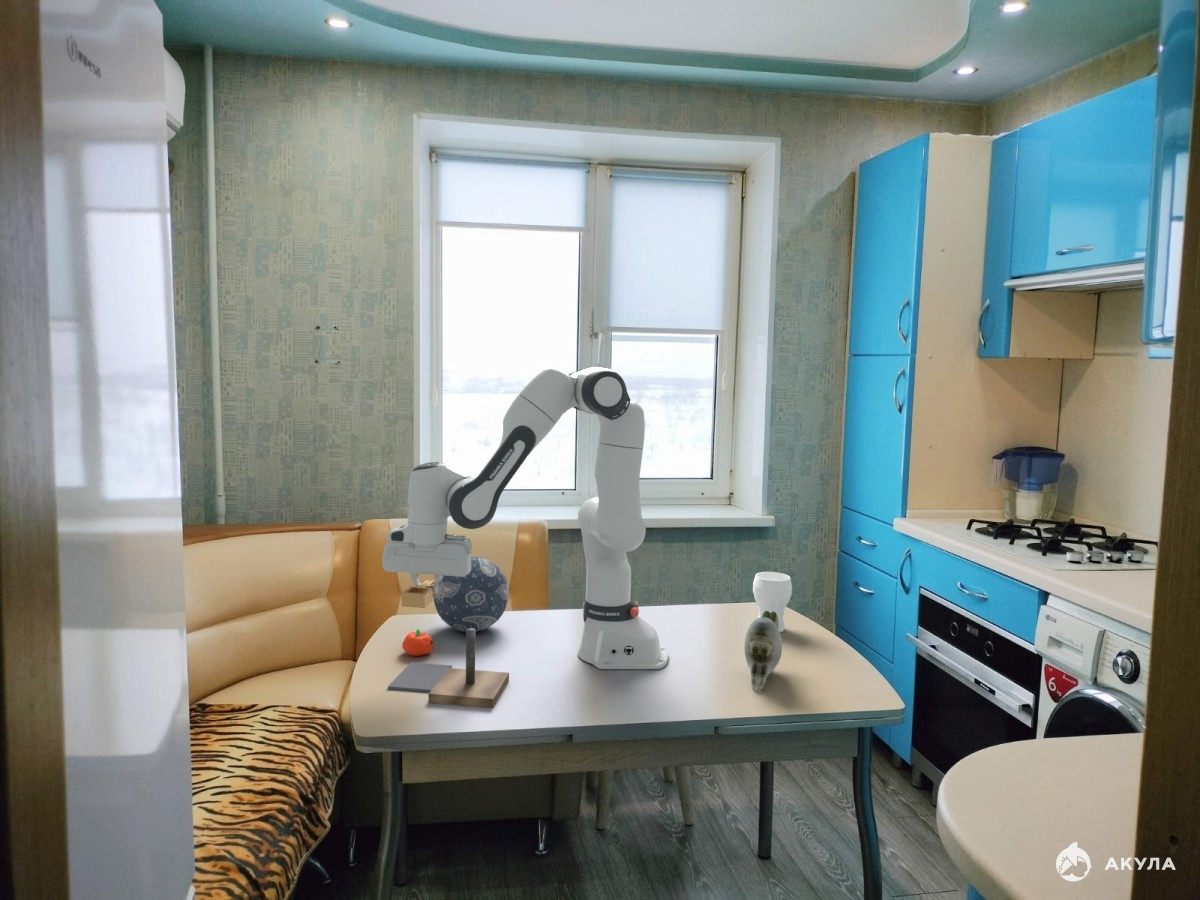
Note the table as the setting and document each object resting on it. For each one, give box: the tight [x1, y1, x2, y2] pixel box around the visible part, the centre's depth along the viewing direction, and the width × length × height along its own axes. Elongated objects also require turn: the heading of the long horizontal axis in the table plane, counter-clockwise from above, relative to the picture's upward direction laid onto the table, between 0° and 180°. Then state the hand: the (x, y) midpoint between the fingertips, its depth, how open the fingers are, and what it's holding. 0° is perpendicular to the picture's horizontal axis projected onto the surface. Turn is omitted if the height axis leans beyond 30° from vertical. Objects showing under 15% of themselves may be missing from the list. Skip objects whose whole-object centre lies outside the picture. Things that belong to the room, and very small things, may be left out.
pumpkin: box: [401, 628, 434, 657], centre depth 189 cm, size 7×8×6 cm
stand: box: [428, 628, 510, 709], centre depth 168 cm, size 14×14×14 cm
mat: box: [387, 661, 453, 693], centre depth 175 cm, size 10×14×1 cm
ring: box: [401, 579, 436, 609], centre depth 174 cm, size 5×11×3 cm, turn 173°
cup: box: [752, 571, 793, 633], centre depth 215 cm, size 11×11×15 cm
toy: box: [743, 611, 783, 692], centre depth 182 cm, size 8×15×20 cm
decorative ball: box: [432, 556, 510, 633], centre depth 206 cm, size 20×20×20 cm
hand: (426, 592), depth 177 cm, fingers closed on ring, 2 cm apart
